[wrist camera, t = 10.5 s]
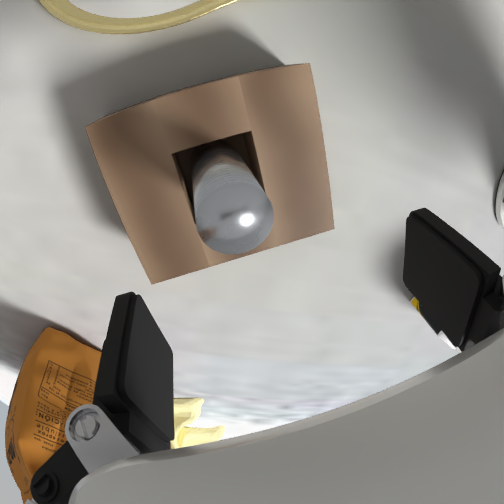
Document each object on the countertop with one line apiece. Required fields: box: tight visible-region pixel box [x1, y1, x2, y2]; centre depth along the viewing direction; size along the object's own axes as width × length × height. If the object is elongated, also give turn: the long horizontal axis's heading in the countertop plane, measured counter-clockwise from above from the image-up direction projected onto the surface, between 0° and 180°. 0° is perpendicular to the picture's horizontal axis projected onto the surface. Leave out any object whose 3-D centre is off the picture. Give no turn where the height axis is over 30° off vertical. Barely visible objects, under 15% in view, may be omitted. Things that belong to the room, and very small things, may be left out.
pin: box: [191, 139, 274, 254], centre depth 19 cm, size 4×4×10 cm
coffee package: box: [5, 327, 102, 504], centre depth 22 cm, size 10×12×22 cm
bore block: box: [85, 63, 334, 284], centre depth 22 cm, size 14×12×5 cm
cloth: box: [170, 398, 226, 449], centre depth 40 cm, size 22×19×6 cm
